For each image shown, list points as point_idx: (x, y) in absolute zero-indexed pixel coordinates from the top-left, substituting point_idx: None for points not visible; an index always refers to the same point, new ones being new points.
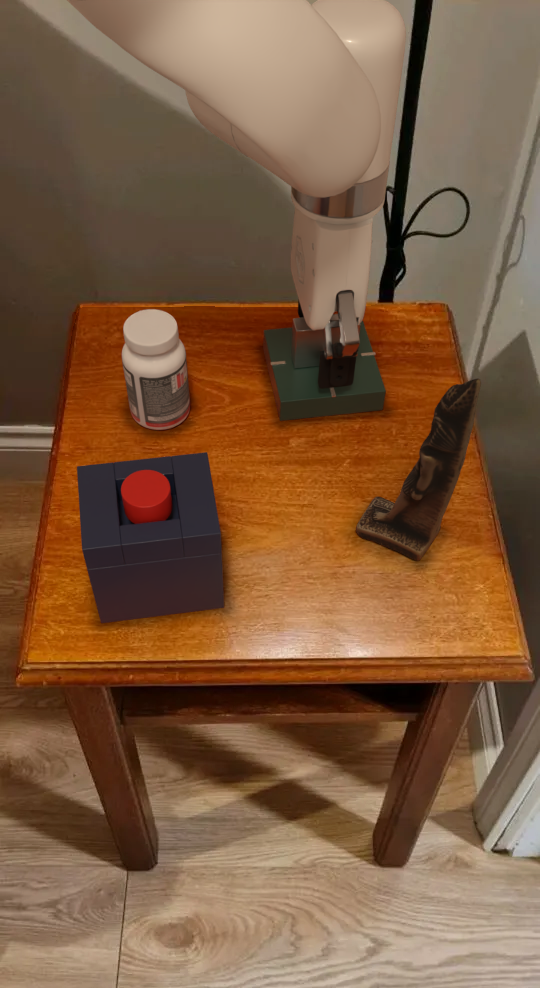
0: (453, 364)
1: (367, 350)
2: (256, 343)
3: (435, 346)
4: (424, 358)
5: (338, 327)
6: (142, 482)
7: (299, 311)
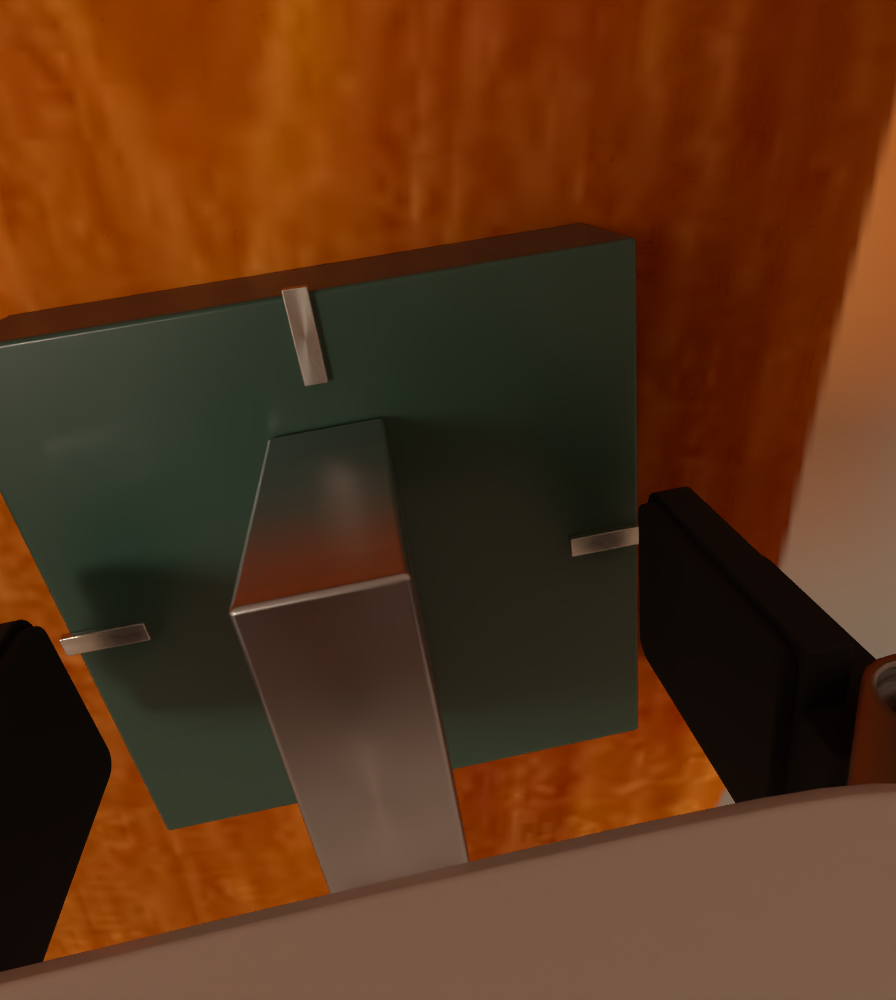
0: None
1: None
2: (637, 180)
3: None
4: (485, 836)
5: (320, 862)
6: None
7: (672, 512)
